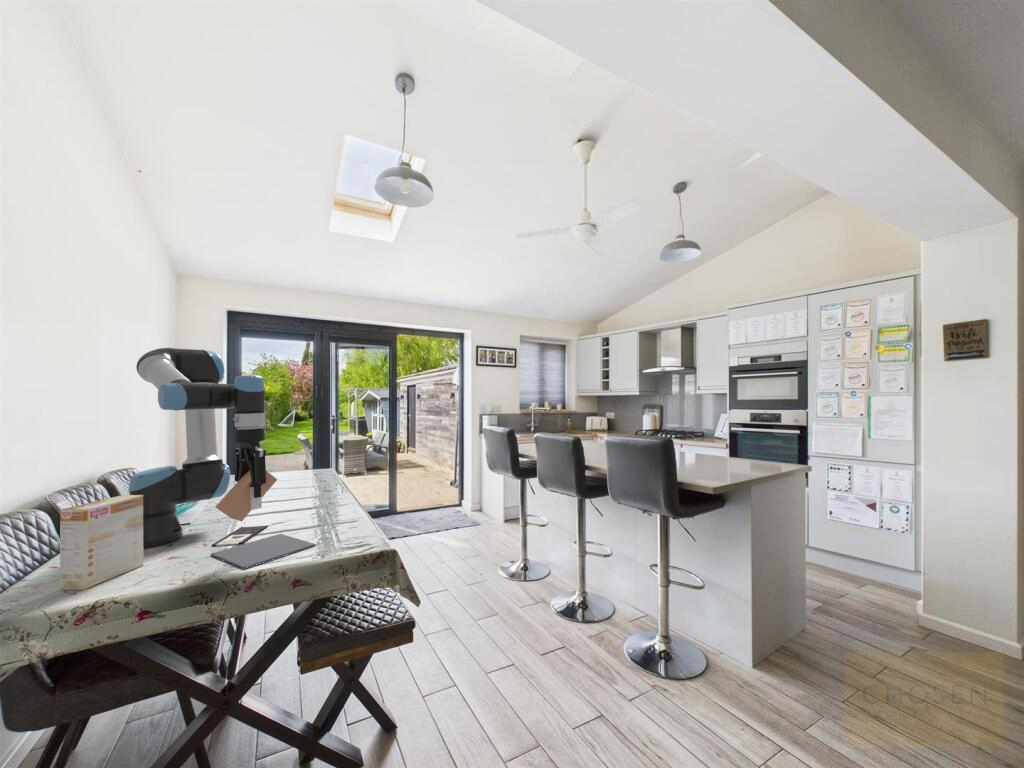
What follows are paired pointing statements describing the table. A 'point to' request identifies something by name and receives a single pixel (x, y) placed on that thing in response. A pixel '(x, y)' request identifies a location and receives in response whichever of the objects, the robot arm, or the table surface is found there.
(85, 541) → the coffeecake box
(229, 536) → the chocolate bar
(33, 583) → the table surface
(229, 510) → the wooden block
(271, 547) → the rubber mat
